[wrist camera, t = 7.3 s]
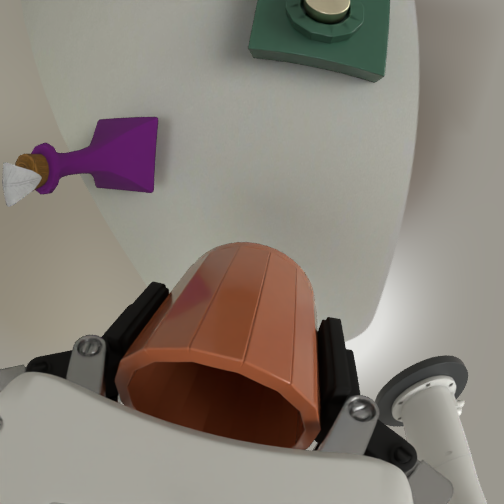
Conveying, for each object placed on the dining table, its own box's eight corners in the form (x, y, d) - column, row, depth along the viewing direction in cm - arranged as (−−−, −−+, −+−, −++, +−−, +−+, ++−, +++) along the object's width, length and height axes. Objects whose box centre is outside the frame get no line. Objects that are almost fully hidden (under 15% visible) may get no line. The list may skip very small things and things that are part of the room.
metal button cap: (347, -3, 14) (351, -13, 12) (344, 27, 16) (348, 18, 14) (306, -11, 15) (306, -22, 13) (301, 19, 16) (301, 9, 14)
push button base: (382, 6, 17) (395, -14, 12) (375, 82, 21) (390, 72, 16) (268, -17, 18) (262, -40, 13) (253, 58, 22) (243, 42, 17)
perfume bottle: (112, 182, 29) (-13, 234, 13) (115, 119, 26) (-21, 131, 10) (167, 187, 28) (39, 252, 12) (172, 118, 25) (31, 115, 9)
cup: (330, 256, 12) (355, 377, 6) (297, 361, 15) (289, 472, 8) (186, 230, 13) (95, 317, 6) (185, 337, 15) (134, 434, 9)
